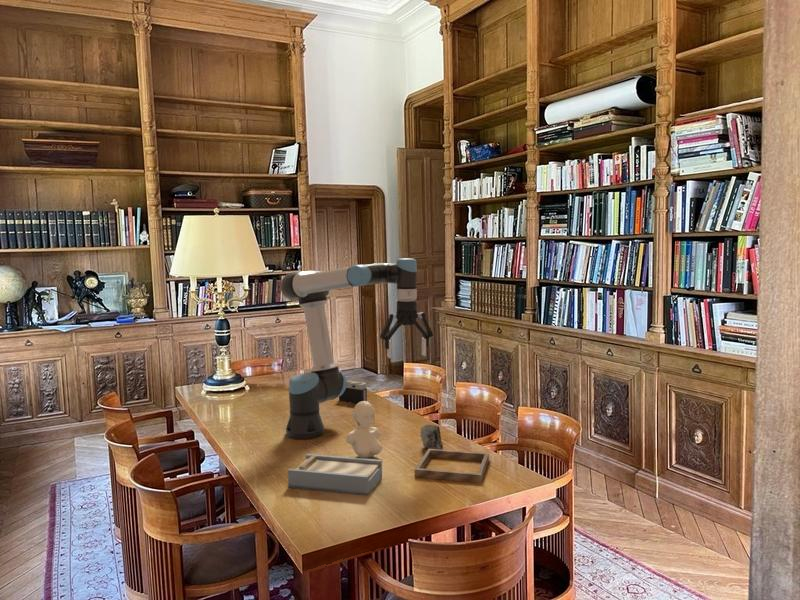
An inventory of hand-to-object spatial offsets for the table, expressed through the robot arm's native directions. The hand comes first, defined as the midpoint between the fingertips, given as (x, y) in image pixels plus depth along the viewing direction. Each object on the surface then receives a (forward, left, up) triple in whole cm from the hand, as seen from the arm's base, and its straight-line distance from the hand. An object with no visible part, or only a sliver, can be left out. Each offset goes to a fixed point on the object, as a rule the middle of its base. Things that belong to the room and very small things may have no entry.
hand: (406, 356), depth 232 cm
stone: (+11, -5, -33) cm, 35 cm away
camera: (-39, +53, -33) cm, 74 cm away
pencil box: (-12, -43, -33) cm, 56 cm away
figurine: (-10, -19, -33) cm, 40 cm away
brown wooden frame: (+22, -23, -33) cm, 46 cm away
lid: (-12, -43, -29) cm, 53 cm away
